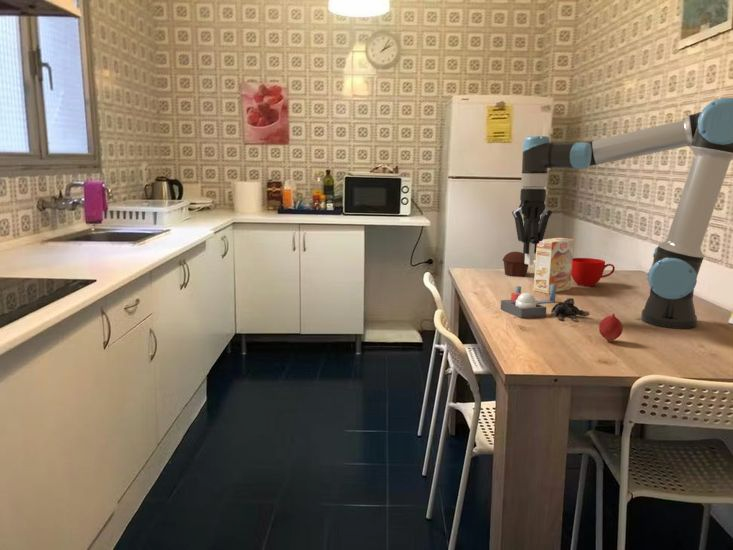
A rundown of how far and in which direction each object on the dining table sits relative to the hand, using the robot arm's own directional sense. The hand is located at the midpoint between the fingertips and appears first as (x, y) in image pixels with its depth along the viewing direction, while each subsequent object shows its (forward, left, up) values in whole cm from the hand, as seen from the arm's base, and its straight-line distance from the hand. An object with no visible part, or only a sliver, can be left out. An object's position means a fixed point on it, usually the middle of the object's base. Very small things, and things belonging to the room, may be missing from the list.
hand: (528, 263), depth 183 cm
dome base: (+2, 0, -16) cm, 16 cm away
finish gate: (+13, -12, -16) cm, 24 cm away
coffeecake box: (+30, -31, -16) cm, 46 cm away
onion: (-32, -5, -16) cm, 37 cm away
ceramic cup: (+34, -52, -16) cm, 64 cm away
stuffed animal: (-6, -12, -17) cm, 22 cm away
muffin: (+61, -35, -16) cm, 72 cm away
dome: (0, 0, -16) cm, 16 cm away
